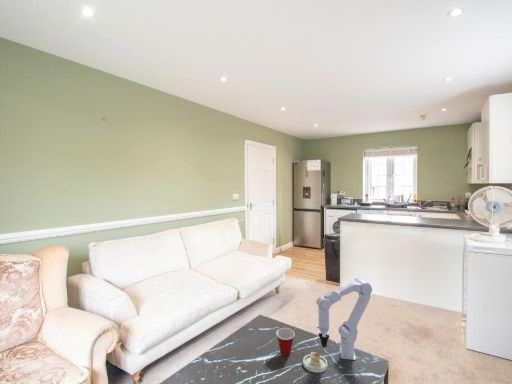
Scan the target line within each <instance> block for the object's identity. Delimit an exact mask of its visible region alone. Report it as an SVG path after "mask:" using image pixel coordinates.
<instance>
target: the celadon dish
mask: <svg viewBox="0 0 512 384" xmlns="http://www.w3.org/2000/svg"><path fill="white" fill-rule="evenodd" d="M302 359H303V361H302V365H303V368H305V369H306V370H307V371H309V372H311V373H315V374H316V373H317V374H319V373H323V372H325V371H327V369H328V360H327V359H326V358H325V357H324V356H322V355H320V366H313V365H311V353H310V354H306V355H305V356H304V357H303V358H302Z"/></svg>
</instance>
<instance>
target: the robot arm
mask: <svg viewBox="0 0 512 384" xmlns="http://www.w3.org/2000/svg"><path fill="white" fill-rule="evenodd" d="M353 292H356V293H357V294H358V299H357V300H356V303H355V305H354V307H353V308H352V311H351V313H350V315H349V317H348V319H347V320H346V321H343V322H342V324H341V325H340V326H339V328H338V333H339V335H340V347H339V353H340V359H344V360H350V361H351V360H352V361H356V359H357V358H356V354H355V342H356V341H357V338H358V337H357V336H358V333H359V332H358V328H357V327H358V324H359V323H360V320H361V318H362V316H363V314H364V312H365V311H366V308H367V307H368V304H369V301H370V300H371V293H372V292H373V288H372V285H371V284H370V283H368V282H367V281H365V280H363V279H362V278H360V277H355V278H354V279H352V280H351V281H350V283H348V284H346V285H345V286H344V287H342V288H341V289H339V290H336V289H335V290H331V291H330V292H329V293H327V294H324V296H322V295H320V296H318V298H317V299H316V300H315V302H316V305H317V306H318V307H317V308H318V309H317V310H318V313H317V314H318V324H317V325H316V328H317V329H318V330H319V331H320V333H318V337H319V339H320V344H321V347H323V348H327V346H328V344H327V343H328V340H329V339H330V335H329V334H327V333H328V332H329V331H330V308H331V307H332V306H333V305H334V304H336V303H337V302H339V301H341V300H342V297H344V296H346V295H348V294H351V293H353Z"/></svg>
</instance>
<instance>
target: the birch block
mask: <svg viewBox="0 0 512 384" xmlns="http://www.w3.org/2000/svg"><path fill="white" fill-rule="evenodd" d="M310 354H311V365H313V366H320V356H321V355H320V352H314V351H311V352H310Z"/></svg>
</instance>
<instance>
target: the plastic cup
mask: <svg viewBox="0 0 512 384" xmlns="http://www.w3.org/2000/svg"><path fill="white" fill-rule="evenodd" d="M275 335H276V337H277V340H278V346H279V351H280V354H281V355H282V356H290V355H291V353H292V347H293V341H294V337H295V336H296V335H295V331H294V330H293V329H291V328H289V327H281V328H278V329H277V330H276V332H275Z"/></svg>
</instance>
